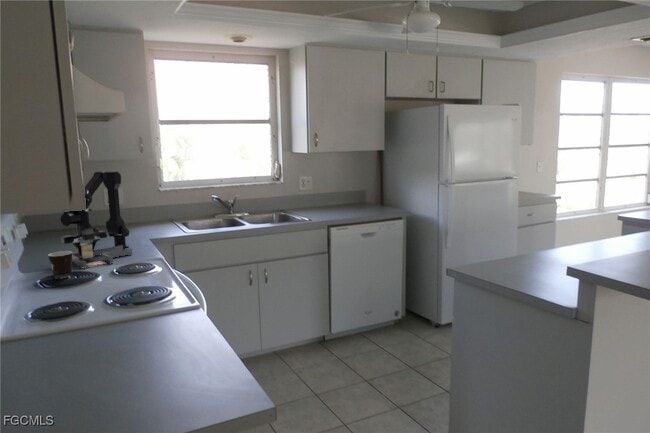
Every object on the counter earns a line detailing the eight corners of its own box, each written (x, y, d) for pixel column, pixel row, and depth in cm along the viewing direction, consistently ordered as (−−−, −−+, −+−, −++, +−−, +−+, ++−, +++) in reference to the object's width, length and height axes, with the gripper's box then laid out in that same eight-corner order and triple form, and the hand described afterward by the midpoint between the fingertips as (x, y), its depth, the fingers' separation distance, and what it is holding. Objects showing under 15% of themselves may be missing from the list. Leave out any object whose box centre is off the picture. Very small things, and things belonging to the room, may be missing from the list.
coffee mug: (53, 275, 196) (50, 252, 195) (76, 273, 199) (73, 250, 198) (47, 283, 186) (44, 258, 184) (72, 280, 189) (69, 256, 187)
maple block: (79, 257, 221) (78, 244, 220) (90, 255, 224) (88, 243, 223) (83, 258, 218) (81, 246, 217) (93, 256, 221) (92, 244, 220)
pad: (83, 264, 212) (83, 264, 212) (102, 261, 218) (102, 260, 218) (89, 267, 207) (88, 266, 207) (107, 264, 213) (107, 263, 213)
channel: (68, 260, 221) (67, 254, 221) (122, 250, 239) (121, 244, 238) (84, 269, 206) (83, 262, 205) (140, 258, 223) (140, 251, 222)
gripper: (66, 227, 206) (70, 261, 209) (110, 221, 219) (113, 253, 222) (58, 224, 214) (62, 257, 217) (101, 218, 227) (104, 250, 229)
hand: (86, 254), depth 221 cm, fingers closed on maple block, 4 cm apart
